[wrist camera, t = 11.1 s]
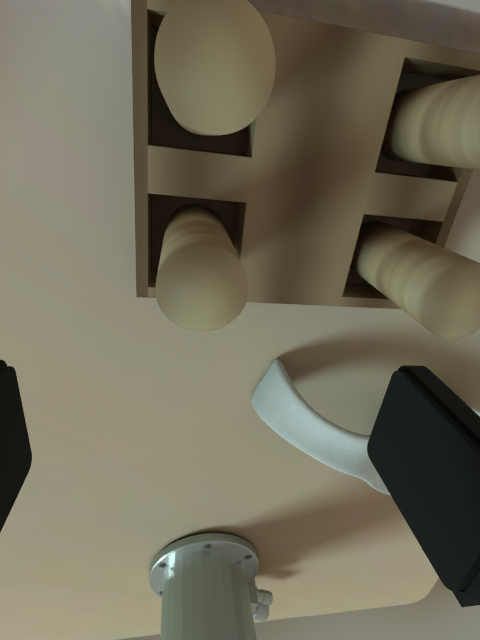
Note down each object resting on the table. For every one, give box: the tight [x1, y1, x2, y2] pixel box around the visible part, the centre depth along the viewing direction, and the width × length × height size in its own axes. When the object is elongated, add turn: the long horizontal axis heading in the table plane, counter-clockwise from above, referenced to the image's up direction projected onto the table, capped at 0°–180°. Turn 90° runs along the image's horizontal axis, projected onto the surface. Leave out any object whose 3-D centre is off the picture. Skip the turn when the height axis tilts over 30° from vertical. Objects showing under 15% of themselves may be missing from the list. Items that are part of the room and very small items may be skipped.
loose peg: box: [155, 204, 249, 332], centre depth 20 cm, size 4×4×10 cm
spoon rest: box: [251, 359, 480, 495], centre depth 31 cm, size 24×12×7 cm, turn 64°
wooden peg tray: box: [131, 0, 480, 339], centre depth 19 cm, size 20×15×10 cm
